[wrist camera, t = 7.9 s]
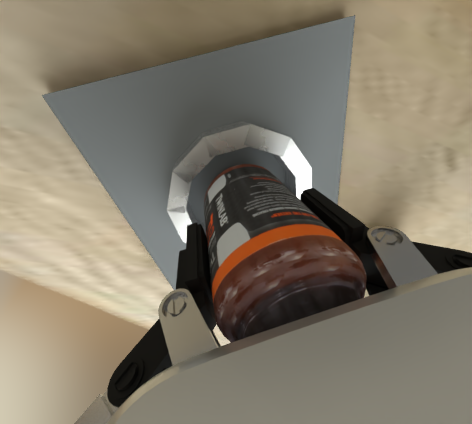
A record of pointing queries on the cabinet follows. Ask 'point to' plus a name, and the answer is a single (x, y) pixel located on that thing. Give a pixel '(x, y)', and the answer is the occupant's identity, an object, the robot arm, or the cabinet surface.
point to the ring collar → (227, 141)
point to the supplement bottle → (271, 255)
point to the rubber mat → (210, 122)
